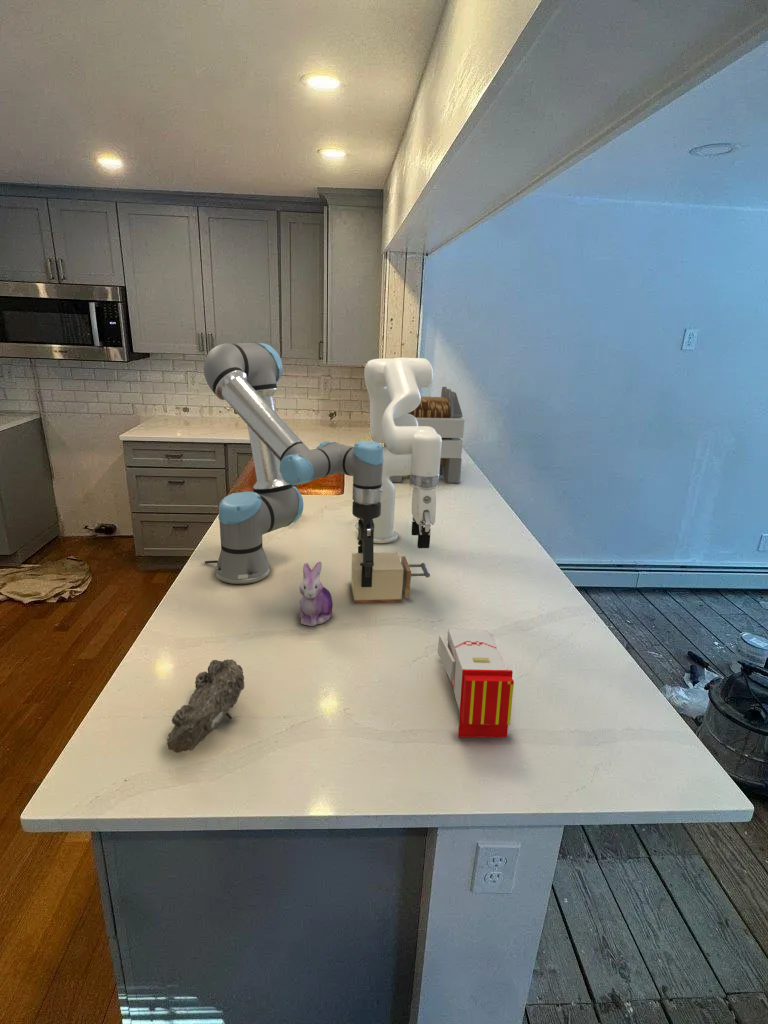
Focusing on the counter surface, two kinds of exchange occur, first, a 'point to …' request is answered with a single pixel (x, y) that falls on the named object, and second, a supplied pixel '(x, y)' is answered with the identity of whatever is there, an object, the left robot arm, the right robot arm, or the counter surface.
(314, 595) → the figurine
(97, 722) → the counter surface
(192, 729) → the fossil
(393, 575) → the lidded box
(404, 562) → the drawer
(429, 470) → the right robot arm
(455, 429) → the transformer
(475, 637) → the toy
